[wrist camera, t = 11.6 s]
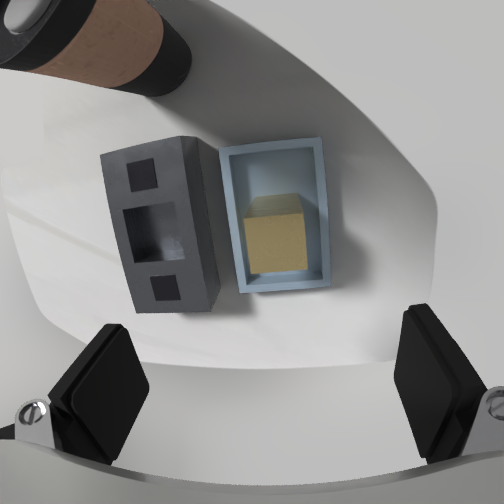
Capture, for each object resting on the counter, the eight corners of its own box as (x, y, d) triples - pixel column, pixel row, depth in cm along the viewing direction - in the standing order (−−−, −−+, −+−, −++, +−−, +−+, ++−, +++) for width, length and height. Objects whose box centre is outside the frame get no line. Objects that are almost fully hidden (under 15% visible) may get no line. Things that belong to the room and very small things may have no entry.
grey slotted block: (125, 152, 29) (99, 155, 24) (196, 136, 28) (179, 135, 23) (153, 291, 34) (136, 313, 30) (220, 288, 33) (210, 312, 29)
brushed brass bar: (255, 196, 29) (243, 218, 21) (297, 192, 29) (303, 213, 20) (260, 237, 30) (251, 274, 22) (301, 233, 30) (307, 269, 21)
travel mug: (113, 77, 27) (-37, 46, 8) (156, 21, 24) (35, -64, 5) (162, 113, 28) (9, 92, 9) (210, 53, 25) (108, -51, 6)
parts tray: (223, 147, 28) (218, 148, 26) (318, 137, 27) (321, 137, 25) (242, 282, 33) (239, 293, 31) (327, 275, 32) (331, 286, 29)
